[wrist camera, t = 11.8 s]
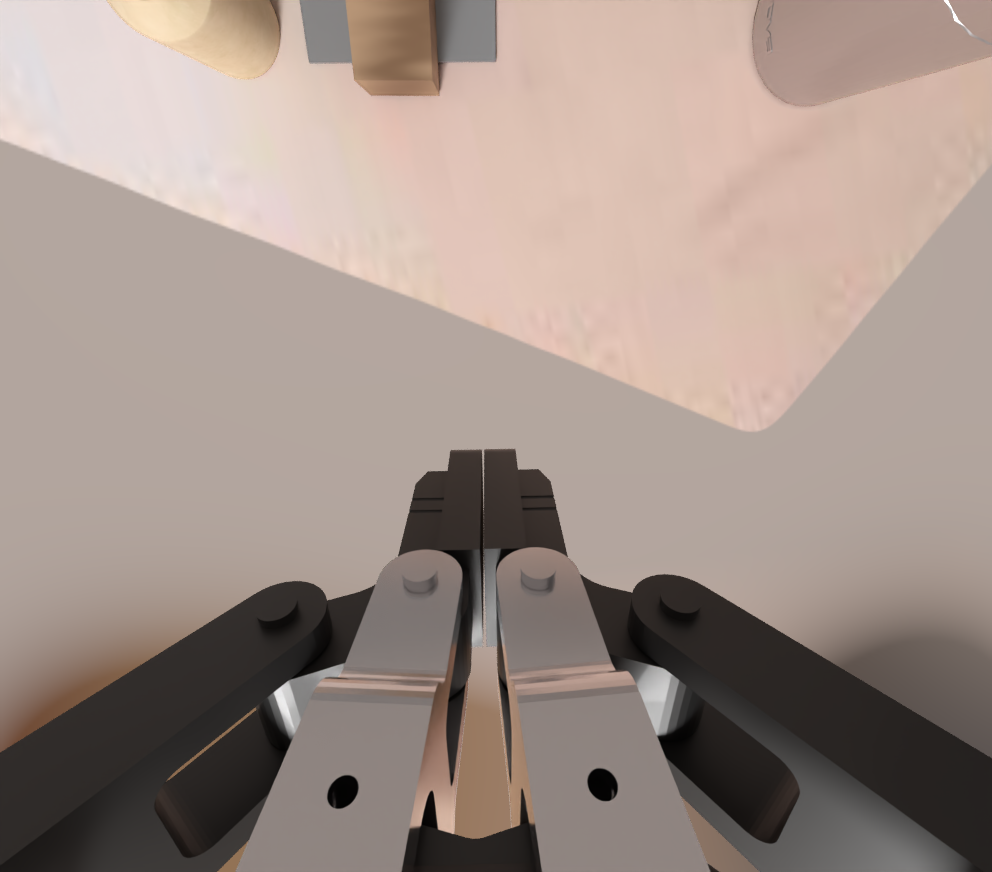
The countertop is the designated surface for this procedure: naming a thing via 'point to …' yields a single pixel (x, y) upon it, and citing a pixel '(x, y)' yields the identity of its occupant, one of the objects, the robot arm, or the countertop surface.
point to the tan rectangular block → (394, 46)
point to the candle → (210, 31)
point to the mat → (458, 26)
